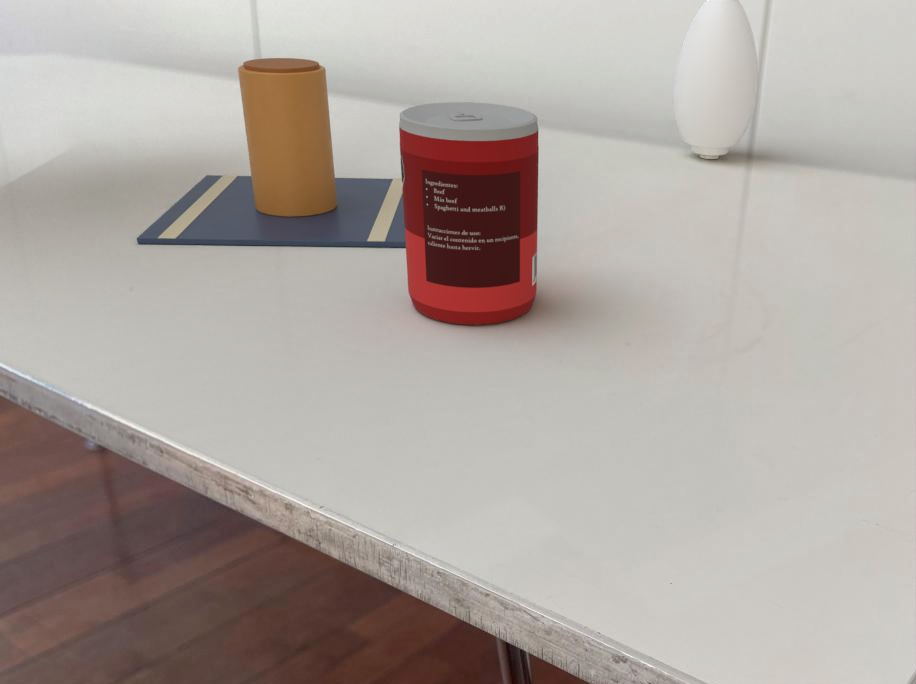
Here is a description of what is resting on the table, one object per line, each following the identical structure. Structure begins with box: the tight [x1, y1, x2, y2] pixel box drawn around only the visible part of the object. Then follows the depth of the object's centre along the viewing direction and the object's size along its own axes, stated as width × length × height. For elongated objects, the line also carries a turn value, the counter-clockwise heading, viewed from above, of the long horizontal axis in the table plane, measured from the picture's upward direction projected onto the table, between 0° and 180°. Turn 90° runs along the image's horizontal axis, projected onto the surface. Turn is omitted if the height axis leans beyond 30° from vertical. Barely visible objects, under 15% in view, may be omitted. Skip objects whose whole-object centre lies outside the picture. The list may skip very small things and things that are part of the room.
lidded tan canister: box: [237, 57, 337, 217], centre depth 74 cm, size 6×6×10 cm
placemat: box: [136, 174, 406, 248], centre depth 76 cm, size 18×18×1 cm
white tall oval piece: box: [672, 0, 759, 160], centre depth 95 cm, size 8×8×18 cm
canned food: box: [398, 101, 540, 326], centre depth 58 cm, size 8×8×11 cm
